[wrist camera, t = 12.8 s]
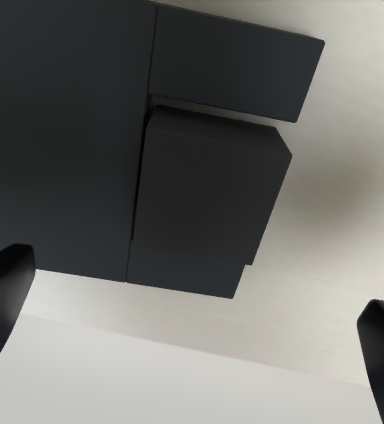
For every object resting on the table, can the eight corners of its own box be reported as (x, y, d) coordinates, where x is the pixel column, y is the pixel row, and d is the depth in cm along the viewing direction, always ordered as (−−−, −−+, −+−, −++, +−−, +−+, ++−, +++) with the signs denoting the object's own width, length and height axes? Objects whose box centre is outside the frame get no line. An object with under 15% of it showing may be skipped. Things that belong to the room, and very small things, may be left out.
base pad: (230, 279, 18) (232, 299, 17) (-75, 230, 17) (-97, 249, 16) (313, 37, 12) (327, 41, 11) (-162, -69, 11) (-210, -78, 9)
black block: (244, 225, 16) (251, 266, 14) (142, 208, 16) (131, 246, 13) (276, 127, 14) (293, 155, 11) (156, 103, 13) (146, 127, 11)
